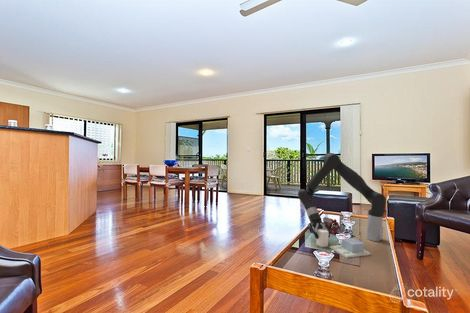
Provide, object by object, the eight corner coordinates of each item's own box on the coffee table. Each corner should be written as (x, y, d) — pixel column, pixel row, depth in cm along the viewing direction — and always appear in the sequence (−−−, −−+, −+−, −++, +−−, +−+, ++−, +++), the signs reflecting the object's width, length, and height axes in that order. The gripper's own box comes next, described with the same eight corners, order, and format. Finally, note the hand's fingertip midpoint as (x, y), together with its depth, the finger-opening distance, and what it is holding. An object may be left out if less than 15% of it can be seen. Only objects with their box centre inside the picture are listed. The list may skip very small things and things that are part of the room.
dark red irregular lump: (338, 235, 180) (339, 221, 179) (320, 231, 187) (321, 217, 187) (340, 233, 185) (341, 219, 185) (323, 229, 193) (324, 216, 192)
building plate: (352, 245, 163) (352, 236, 162) (370, 254, 149) (371, 244, 149) (329, 247, 157) (330, 238, 156) (346, 257, 144) (347, 247, 143)
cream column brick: (322, 243, 164) (323, 229, 163) (327, 246, 159) (328, 231, 159) (316, 243, 162) (317, 229, 162) (321, 246, 158) (322, 232, 157)
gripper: (307, 213, 165) (317, 236, 155) (325, 212, 170) (335, 234, 159) (302, 218, 170) (311, 241, 160) (319, 217, 175) (329, 239, 165)
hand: (323, 238), depth 160 cm, fingers open, 8 cm apart
